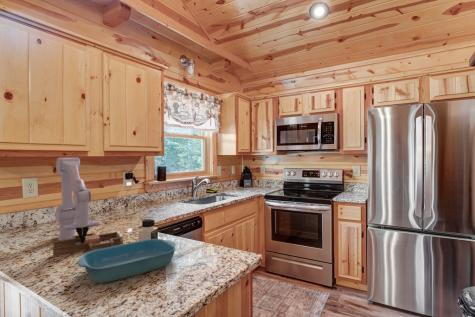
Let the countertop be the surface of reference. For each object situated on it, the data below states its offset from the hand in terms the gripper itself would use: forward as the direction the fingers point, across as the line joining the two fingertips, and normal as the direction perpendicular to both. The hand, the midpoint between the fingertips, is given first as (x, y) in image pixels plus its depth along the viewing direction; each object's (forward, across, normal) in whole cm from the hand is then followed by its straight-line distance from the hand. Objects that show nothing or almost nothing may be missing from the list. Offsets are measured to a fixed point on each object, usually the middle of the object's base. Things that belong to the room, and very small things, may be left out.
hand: (82, 242), depth 127 cm
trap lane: (+2, +2, 0) cm, 3 cm away
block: (+2, +4, 0) cm, 5 cm away
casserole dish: (+2, +14, -39) cm, 41 cm away
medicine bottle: (+2, +28, -13) cm, 31 cm away
